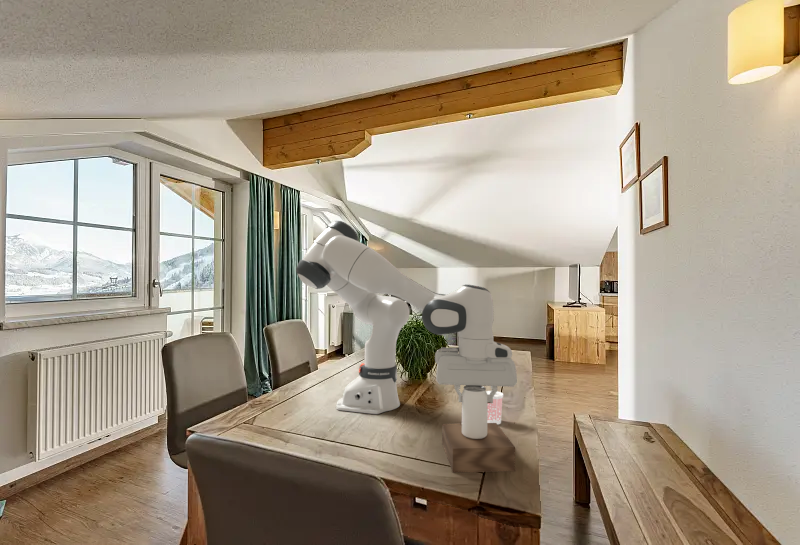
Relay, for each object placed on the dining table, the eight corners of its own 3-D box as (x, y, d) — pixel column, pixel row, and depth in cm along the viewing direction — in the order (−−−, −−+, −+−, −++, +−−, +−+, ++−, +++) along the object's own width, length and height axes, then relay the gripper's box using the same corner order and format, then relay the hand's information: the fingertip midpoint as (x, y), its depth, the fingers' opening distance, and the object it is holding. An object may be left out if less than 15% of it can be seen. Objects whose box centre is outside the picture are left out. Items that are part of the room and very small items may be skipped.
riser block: (452, 474, 90) (452, 448, 90) (442, 445, 105) (442, 423, 105) (515, 472, 91) (515, 447, 91) (496, 444, 106) (496, 422, 106)
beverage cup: (499, 417, 124) (499, 374, 124) (506, 425, 118) (506, 379, 118) (480, 418, 124) (480, 375, 124) (487, 426, 118) (487, 380, 118)
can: (486, 441, 94) (487, 392, 94) (460, 438, 96) (460, 390, 96) (487, 431, 100) (488, 385, 100) (463, 428, 102) (463, 383, 102)
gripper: (435, 349, 96) (434, 404, 96) (518, 351, 94) (518, 407, 94) (435, 344, 102) (434, 396, 102) (513, 346, 100) (513, 399, 100)
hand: (475, 402), depth 98 cm, fingers closed on can, 6 cm apart
